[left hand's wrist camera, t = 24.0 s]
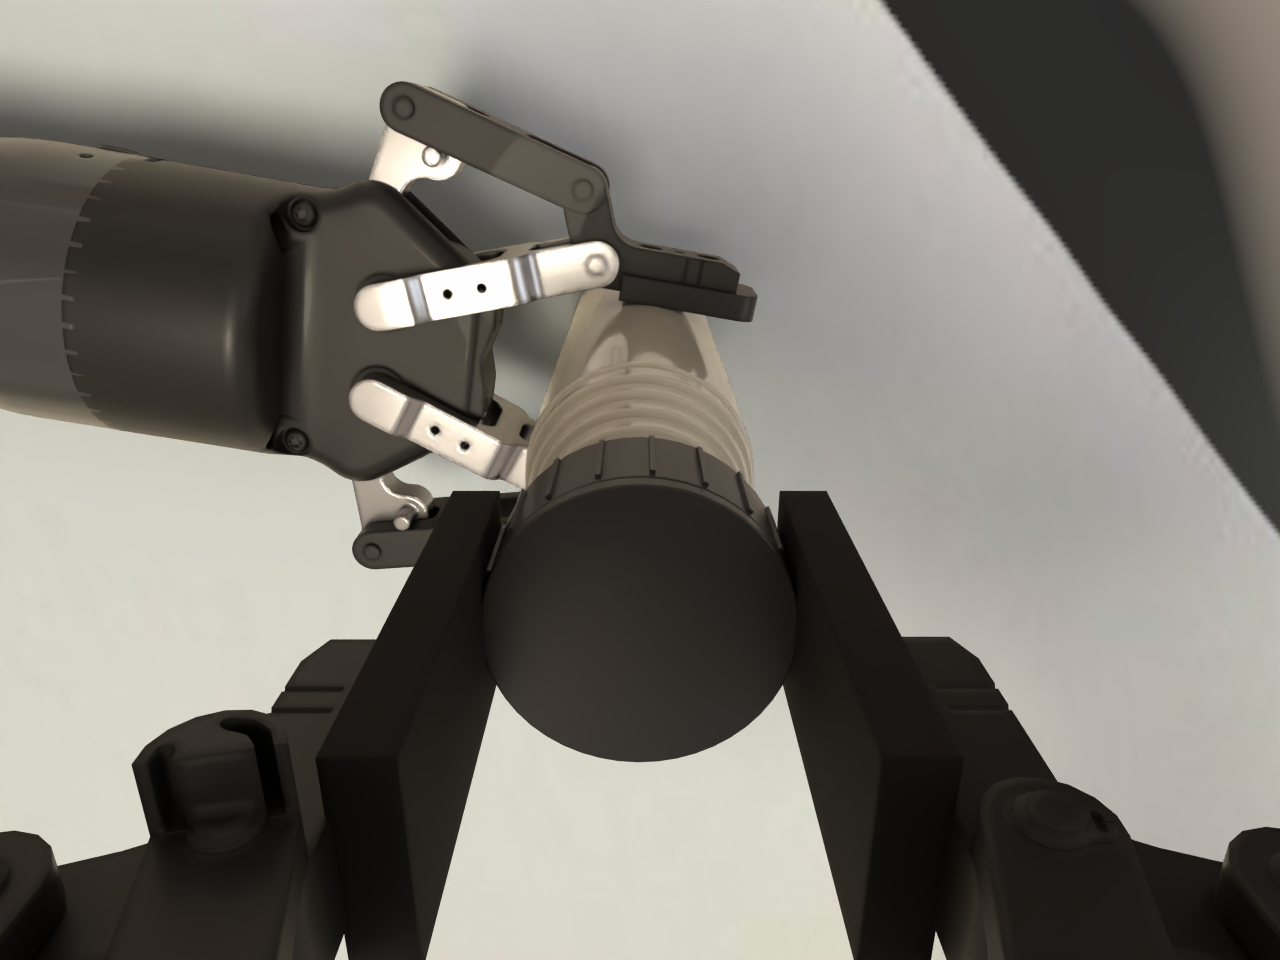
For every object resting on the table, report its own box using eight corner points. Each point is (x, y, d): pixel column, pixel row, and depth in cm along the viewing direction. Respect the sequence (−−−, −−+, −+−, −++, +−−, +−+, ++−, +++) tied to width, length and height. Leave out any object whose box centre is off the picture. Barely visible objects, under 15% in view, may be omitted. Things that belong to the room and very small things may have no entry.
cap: (458, 471, 14) (430, 525, 12) (749, 400, 14) (767, 444, 12) (543, 711, 16) (529, 791, 14) (805, 654, 15) (829, 729, 13)
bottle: (733, 314, 32) (862, 567, 13) (656, 420, 33) (676, 778, 15) (621, 235, 31) (595, 391, 12) (547, 348, 32) (424, 637, 14)
